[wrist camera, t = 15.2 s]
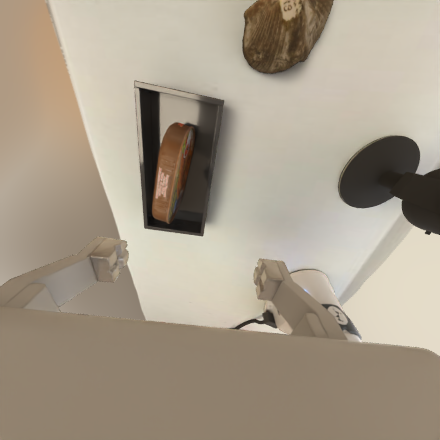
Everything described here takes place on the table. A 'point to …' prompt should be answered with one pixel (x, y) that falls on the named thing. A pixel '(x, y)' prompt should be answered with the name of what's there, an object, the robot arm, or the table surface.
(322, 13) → the fossilized seashell
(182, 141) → the tin
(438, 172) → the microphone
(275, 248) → the table surface
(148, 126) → the open rectangular box
